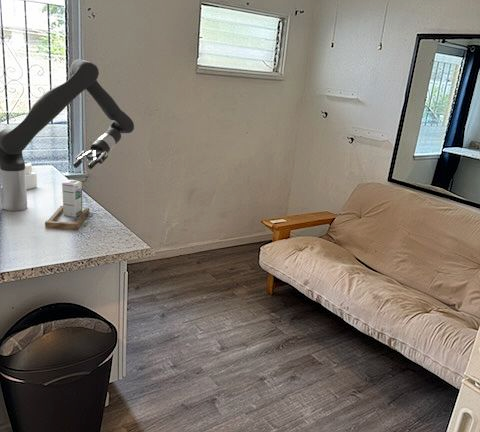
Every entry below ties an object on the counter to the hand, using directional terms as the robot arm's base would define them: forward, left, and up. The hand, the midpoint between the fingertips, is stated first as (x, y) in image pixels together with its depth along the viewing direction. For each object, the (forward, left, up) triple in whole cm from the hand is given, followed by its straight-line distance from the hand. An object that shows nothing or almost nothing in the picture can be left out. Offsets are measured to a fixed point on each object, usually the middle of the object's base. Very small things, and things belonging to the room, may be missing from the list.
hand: (81, 166), depth 191 cm
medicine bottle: (-32, +25, -19) cm, 45 cm away
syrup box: (-2, -8, -19) cm, 21 cm away
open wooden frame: (-1, -15, -19) cm, 24 cm away
